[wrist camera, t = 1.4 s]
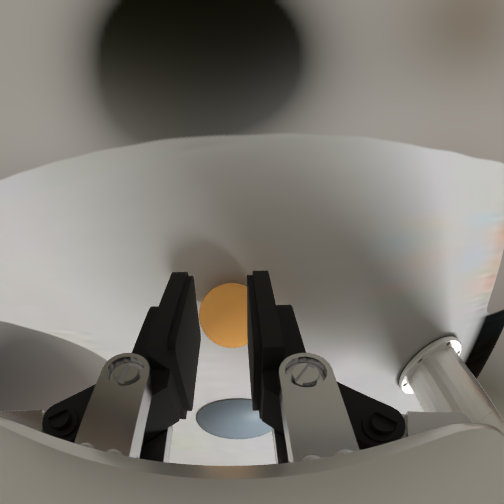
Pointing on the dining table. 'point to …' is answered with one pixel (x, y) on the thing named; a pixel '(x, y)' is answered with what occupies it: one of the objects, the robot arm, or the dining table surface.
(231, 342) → the ball
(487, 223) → the dining table surface
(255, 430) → the disc
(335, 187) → the dining table surface
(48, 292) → the dining table surface
